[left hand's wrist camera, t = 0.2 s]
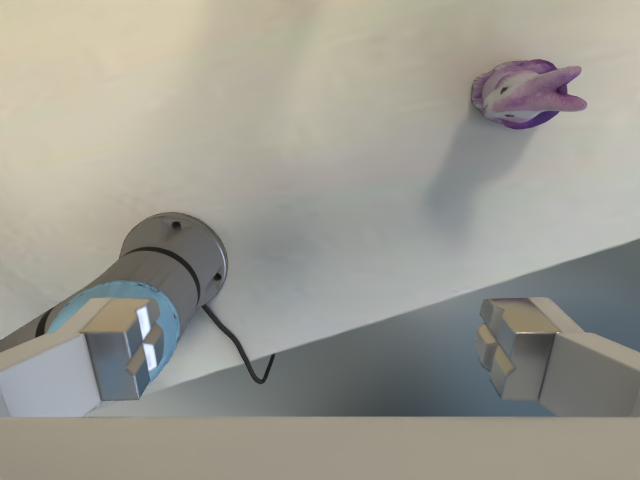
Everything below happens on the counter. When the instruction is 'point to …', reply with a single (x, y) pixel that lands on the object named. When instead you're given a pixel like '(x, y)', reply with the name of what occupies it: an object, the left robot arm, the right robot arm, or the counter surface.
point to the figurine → (525, 93)
